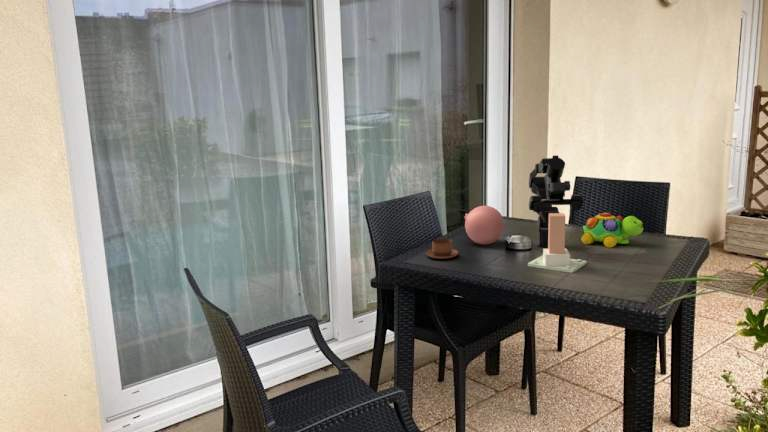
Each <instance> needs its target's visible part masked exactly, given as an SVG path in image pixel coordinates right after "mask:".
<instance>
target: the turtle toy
mask: <svg viewBox="0 0 768 432" xmlns="http://www.w3.org/2000/svg"><path fill="white" fill-rule="evenodd" d="M582 229H583V233H584V234H583V235H581V242H582V243H583V244H584V245H591V244H593V243H594V242H601V243H603V245H604V247H605V248H609V249H612V248H614V247H615V246H617V244H622V245H623V244H624V245H625V244H629V243H630V240H629V238H628V237H637V236H638V235H641V233H642V232H643V231H644V226H643V222H642V220H640V219H638V218H637V217H636V216H634V215H628V216H626V217H625V218H623V217H622V216H621V215H617V216H615V215H612V213H610V212H600V213H599V214H597V215H595V216H594V217H590V218H588V219H587V220H586V224H585V225H583V226H582Z"/></svg>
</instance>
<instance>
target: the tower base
mask: <svg viewBox="0 0 768 432" xmlns="http://www.w3.org/2000/svg"><path fill="white" fill-rule="evenodd" d="M587 263H588V262H587V260H582V259H581V258H577V259H575V258H571V254H570V252H569V250H568V249H567V248H565V254H562V253H549V251H548V248H542V255H540V256H538V257H536V258H535V259H533V260H530V261H529V262H527V267H530V268H537V269H538V268H539V269H545V270H551V271H558V272H563V273H564V272H565V273H571V274H573V273H575V272H576V271H578V270H579V269H581V268H582V267H583V266H585V265H587Z"/></svg>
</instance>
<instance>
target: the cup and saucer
mask: <svg viewBox="0 0 768 432" xmlns="http://www.w3.org/2000/svg"><path fill="white" fill-rule="evenodd" d="M425 253H426V255H427V256H428V257H429V258H432V259H437V260H446V259H447V260H448V259H452V258H455V257H456V256H458V255H459V250H457V249H454V248H453V241H452V239H448V238H437V239H433V240H432V241H431V249H428V250H426V251H425Z"/></svg>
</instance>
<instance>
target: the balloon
mask: <svg viewBox="0 0 768 432" xmlns="http://www.w3.org/2000/svg"><path fill="white" fill-rule="evenodd" d="M463 217H464V220H465V221H464V229H465V232H466V234H467V236H468V238H470V240H471V241H473V242H474V243H476V244H479V245H485V246H486V245H491V244H493V243H495V242H497V241H498V240H499V239H500V238H501V237H502V236H503V232H504V230H505V221H504V217H503V215H502V214H501V212H500V211H499V210H498V209H497V208H494V207H492V206H489V205H479V206H477V207H475V208H473V209H472V210H471V211H469V213H465V216H463Z"/></svg>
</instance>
